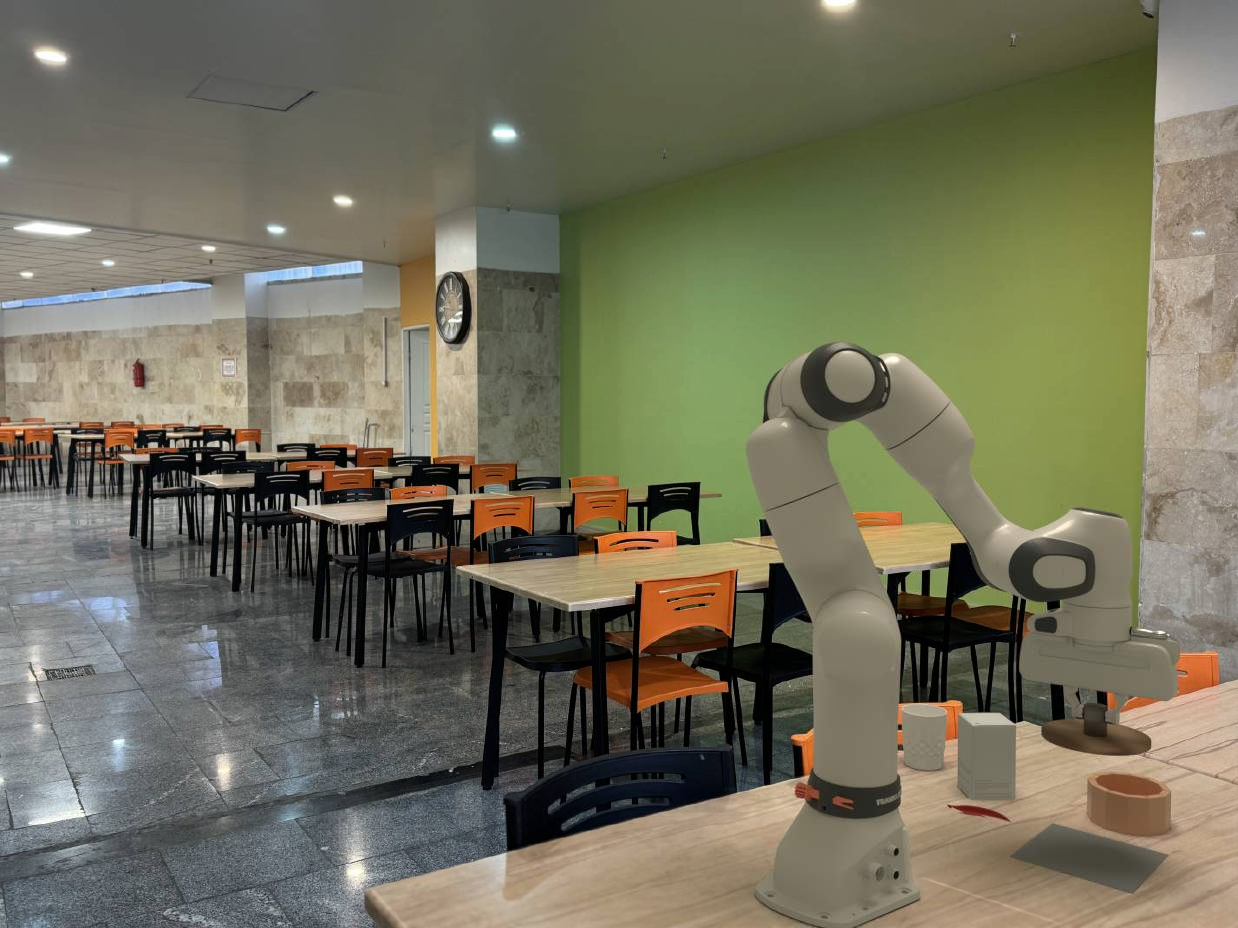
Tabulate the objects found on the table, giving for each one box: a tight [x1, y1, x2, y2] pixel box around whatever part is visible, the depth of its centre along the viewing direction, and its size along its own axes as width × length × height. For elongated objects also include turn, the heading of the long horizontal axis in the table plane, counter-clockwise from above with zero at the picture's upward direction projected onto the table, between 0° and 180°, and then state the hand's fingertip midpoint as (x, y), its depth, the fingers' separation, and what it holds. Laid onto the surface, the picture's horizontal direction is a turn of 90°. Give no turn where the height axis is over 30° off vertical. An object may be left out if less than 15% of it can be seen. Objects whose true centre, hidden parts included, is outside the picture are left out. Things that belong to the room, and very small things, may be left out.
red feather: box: [946, 804, 1012, 823], centre depth 155 cm, size 12×5×2 cm, turn 33°
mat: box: [1009, 823, 1169, 894], centre depth 140 cm, size 16×16×1 cm
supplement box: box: [956, 712, 1017, 801], centre depth 164 cm, size 7×7×13 cm
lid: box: [1040, 702, 1152, 757], centre depth 140 cm, size 14×14×5 cm
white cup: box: [900, 703, 948, 772], centre depth 178 cm, size 8×8×10 cm
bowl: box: [1086, 771, 1172, 837], centre depth 152 cm, size 11×11×6 cm
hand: (1095, 720), depth 140 cm, fingers closed on lid, 3 cm apart
